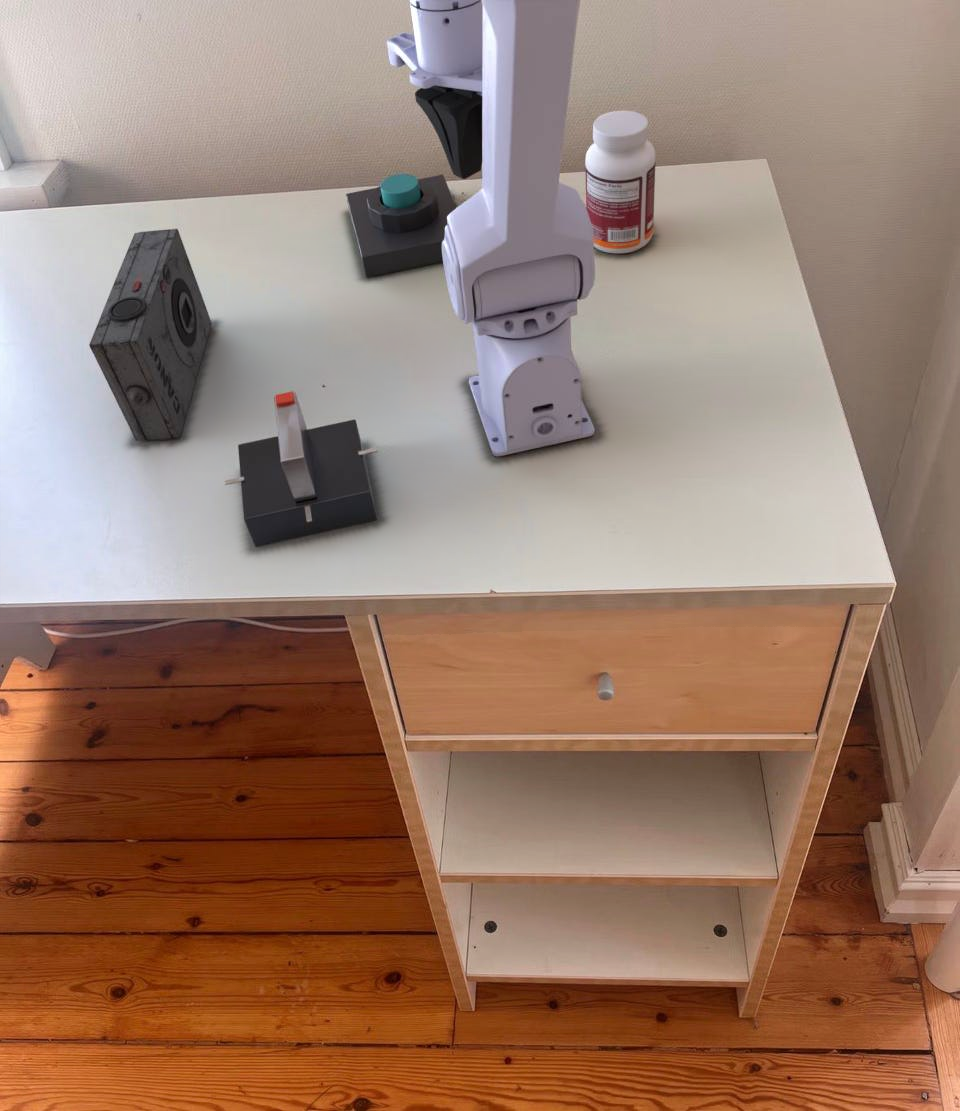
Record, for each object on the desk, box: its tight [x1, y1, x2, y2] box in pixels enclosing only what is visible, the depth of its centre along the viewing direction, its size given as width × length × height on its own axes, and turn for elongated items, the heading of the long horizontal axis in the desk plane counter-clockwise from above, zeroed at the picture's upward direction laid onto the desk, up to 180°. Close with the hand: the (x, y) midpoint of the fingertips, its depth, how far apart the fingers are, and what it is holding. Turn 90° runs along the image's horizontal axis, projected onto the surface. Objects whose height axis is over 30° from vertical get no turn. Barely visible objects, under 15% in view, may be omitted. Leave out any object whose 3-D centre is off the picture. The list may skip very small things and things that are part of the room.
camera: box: [88, 228, 213, 442], centre depth 79 cm, size 16×4×10 cm, turn 0°
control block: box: [345, 174, 457, 278], centre depth 93 cm, size 12×10×4 cm
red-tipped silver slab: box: [273, 390, 317, 502], centre depth 69 cm, size 7×2×4 cm, turn 11°
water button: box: [379, 173, 421, 209], centre depth 92 cm, size 4×4×2 cm
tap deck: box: [224, 419, 378, 548], centre depth 71 cm, size 11×11×3 cm
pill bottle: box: [584, 109, 657, 254], centre depth 87 cm, size 6×6×11 cm
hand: (467, 172), depth 81 cm, fingers closed
